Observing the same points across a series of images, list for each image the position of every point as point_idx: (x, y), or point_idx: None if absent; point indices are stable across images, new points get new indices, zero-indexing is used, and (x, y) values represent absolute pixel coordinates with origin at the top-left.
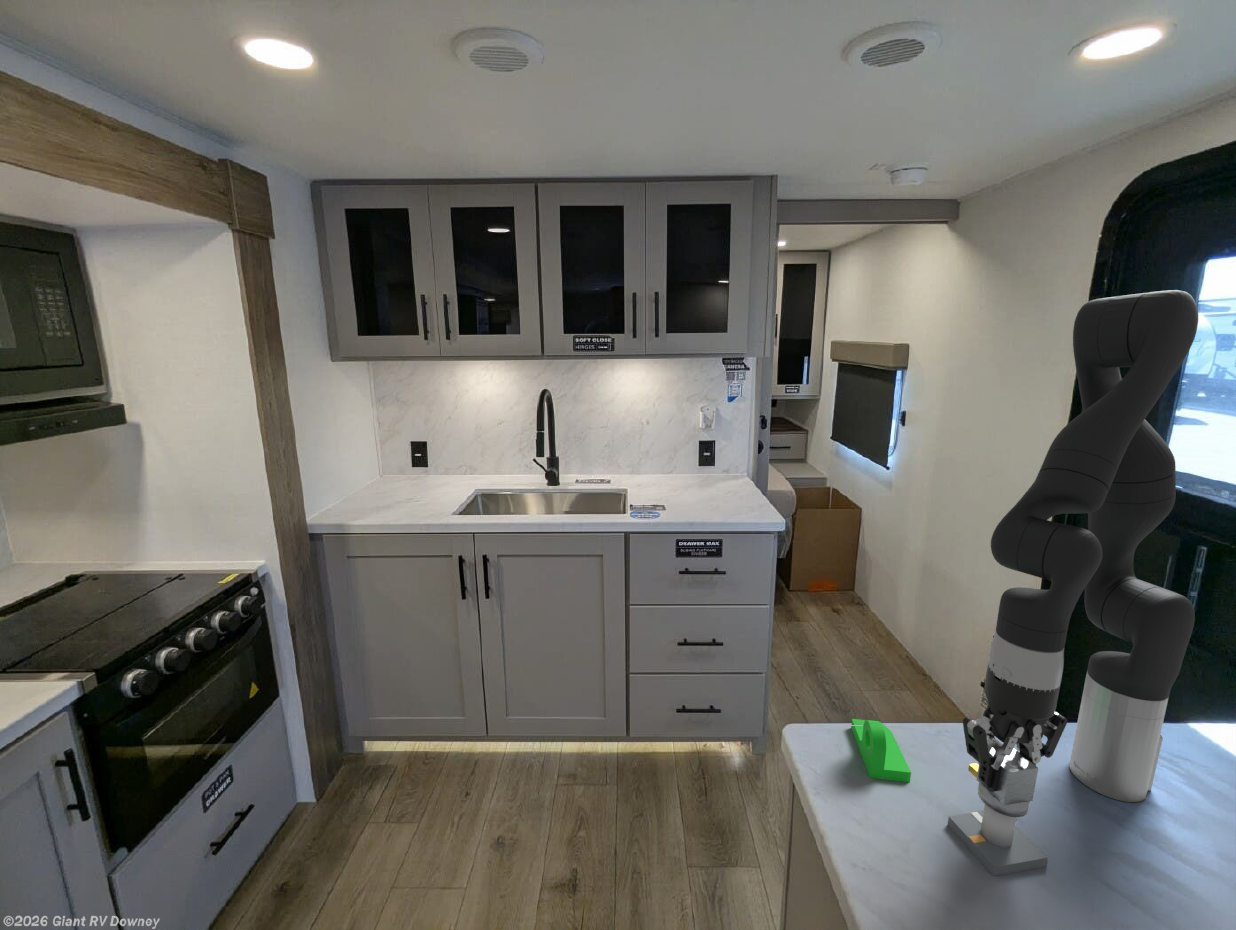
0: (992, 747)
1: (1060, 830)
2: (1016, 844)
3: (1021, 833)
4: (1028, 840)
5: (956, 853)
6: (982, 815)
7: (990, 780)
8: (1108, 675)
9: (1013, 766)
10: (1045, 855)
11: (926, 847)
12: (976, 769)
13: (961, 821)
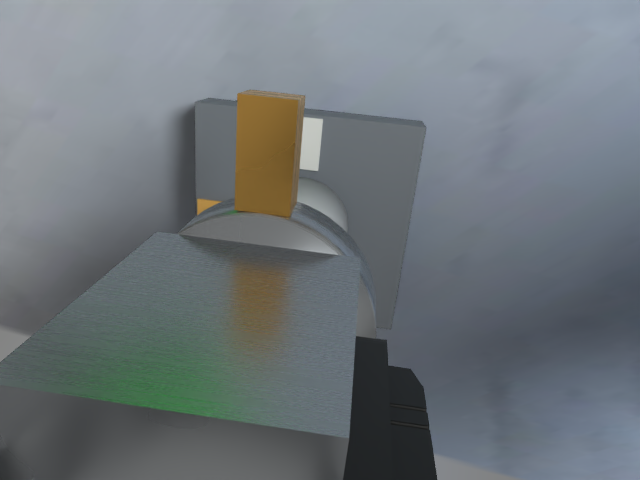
0: (118, 405)
1: (591, 235)
2: None
3: (397, 243)
4: (394, 268)
5: (157, 197)
6: (332, 138)
7: None
8: None
9: None
10: (390, 321)
11: (76, 151)
12: (248, 147)
13: (225, 137)
